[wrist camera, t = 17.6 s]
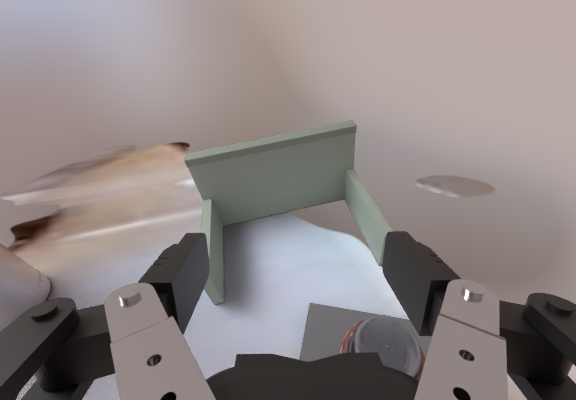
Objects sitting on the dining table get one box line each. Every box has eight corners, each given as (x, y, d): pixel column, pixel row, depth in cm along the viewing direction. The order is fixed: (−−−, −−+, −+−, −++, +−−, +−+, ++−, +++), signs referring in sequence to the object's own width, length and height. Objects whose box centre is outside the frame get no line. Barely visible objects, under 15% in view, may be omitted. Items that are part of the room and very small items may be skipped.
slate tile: (476, 538, 18) (481, 539, 18) (280, 471, 22) (279, 471, 21) (442, 329, 28) (445, 326, 27) (310, 306, 32) (309, 302, 31)
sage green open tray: (387, 263, 34) (406, 187, 26) (214, 304, 33) (170, 238, 24) (348, 192, 45) (352, 120, 36) (215, 221, 44) (185, 154, 35)
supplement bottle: (400, 356, 26) (428, 302, 18) (414, 438, 22) (458, 412, 14) (337, 351, 27) (338, 297, 19) (338, 429, 23) (341, 400, 15)
